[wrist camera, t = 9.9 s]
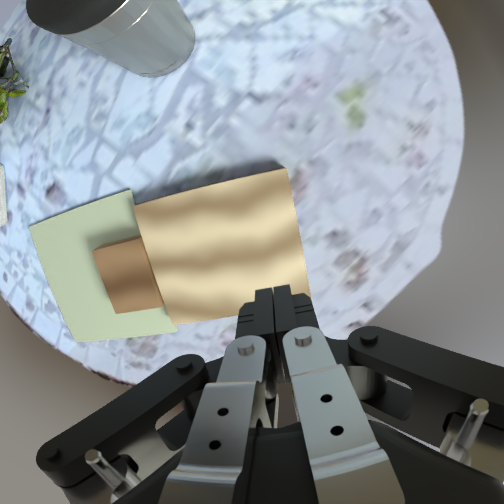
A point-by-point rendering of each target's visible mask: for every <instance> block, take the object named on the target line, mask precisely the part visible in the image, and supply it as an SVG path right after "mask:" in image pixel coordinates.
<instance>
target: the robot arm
mask: <svg viewBox="0 0 504 504" xmlns="http://www.w3.org/2000/svg"><path fill="white" fill-rule="evenodd" d="M26 9H27V13H28V16H29V18H30V19H31V20H32V22H33V23H35V24H36V25H37V26H39V27H41V28H43V29H45V30H48V31H50V32H52V33H55V34H57V35H60V36H62V37H64V38H66V39H68V40H71V41H73V42H75V43H77V44H79V45H82V46H84V47H86V48H88V49H90V50H92V51H94V52H96V53H98V54H100V55H102V56H104V57H106V58H108V59H109V60H111V61H113V62H115V63H117V64H119V65H121V66H123V67H124V68H126V69H128V70H130V71H132V72H134V73H136V74H138V75H140V76H143V77H159V76H163V75H166V74H168V73H171V72H173V71H174V70H176V69H177V68H179V67H180V66H181V65H182V64H183V63H184V62H185V61H186V60H187V58H188V57H189V56H190V54H191V52H192V50H193V48H194V44H195V32H194V28H193V27H192V25H191V23H190V21H189V20H188V18H187V16H186V15H185V13H184V11H183V9H182V8H181V6H180V5H179V3H178V1H177V0H26ZM273 292H274V294H273ZM283 369H284V372H283ZM284 374H285V379H286V382H290V384H291V389H292V395H293V400H294V405H295V409H296V414H297V419H298V422H297V423H294V424H292V425H289V426H286V427H283V428H277V416H278V400H279V399H278V394H277V392H278V383H284ZM387 377H391V378H393V379H395V380H398V381H400V382H402V383H405V384H407V385H408V386H409V387H410V388H411V389H412V390H410V389H408V388H406V387H403V386H401V385H399V384H396V383H394V382H392V381H389V380H387ZM178 403H181V405H182V407H183V409H184V410H183V411H182V412H181V413H179V414H178V415H177V416H175V417H174V418H173V419H171V420H170V421H169V422H167V423H166V424H165V425H164V426H162V427H161V428H160V429H158V430H157V431H156V429H155V424H156V421H157V420H158V419H159V418H160V417H161V416H163V415H164V414H165V413H167V412H168V411H169V410H171V409H172V408H173V407H175V406H176V405H177V404H178ZM364 412H365V413H367V414H369V415H371V416H373V417H375V418H377V419H379V420H381V421H383V422H385V423H387V424H389V425H391V426H393V427H395V428H397V429H399V430H401V431H403V432H405V433H407V434H409V435H412V436H413V437H416V438H418V439H420V440H422V441H424V442H427V443H429V444H431V445H433V446H436V447H438V448H440V452H437V451H435V450H433V449H431V448H429V447H427V446H425V445H423V444H421V443H419V442H418V441H415V440H413V439H412V438H410V437H407V436H406V435H404V434H402V433H400V432H398V431H397V430H395V429H393V428H391V427H389V426H387V425H385V424H382V423H379V422H376V421H372V420H367V418H366V415H365V413H364ZM36 462H37V465H38V466H39V468H40V469H41V470H42V471H43V472H44V473H45V474H46V475H47V476H48V477H49V478H51V479H52V480H53V482H54V483H55V484H56V485H57V486H58V487H59V488H60V489H61V490H62V491H63V492H64V493H65V495H66V497H67V498H68V500H69V502H70V504H504V485H503V484H502V483H503V481H504V367H501V366H498V365H494V364H491V363H487V362H485V361H481V360H478V359H475V358H471V357H468V356H465V355H462V354H459V353H456V352H453V351H450V350H446V349H443V348H440V347H437V346H434V345H431V344H428V343H425V342H422V341H419V340H416V339H413V338H410V337H407V336H404V335H401V334H398V333H395V332H392V331H389V330H386V329H383V328H380V327H376V326H366V327H361V328H358V329H356V330H354V331H353V332H352V333H351V334H350V335H349V337H348V340H336V339H331V338H328V337H326V336H324V334H323V332H322V331H321V330H320V329H319V325H318V322H317V318H316V315H315V312H314V308H313V305H312V301H311V298H310V297H309V296H308V295H306V294H305V293H300V294H294V295H292V294H291V288H290V284H287V285H281V286H275V287H273V289H272V287H270V288H264V289H258V290H255V301H254V302H247V303H244V305H243V306H242V307H241V308H240V309H239V315H238V323H237V329H236V336H235V340H233V341H232V342H231V343H230V344H229V345H228V346H227V348H226V351H225V354H224V356H223V357H221V358H219V359H216V360H213V361H210V362H207V363H205V361H204V359H203V358H202V357H201V356H199V355H196V354H187V355H182V356H179V357H177V358H175V359H173V360H172V361H171V362H169V363H168V364H166V365H165V366H163V367H162V368H160V369H159V370H157V371H156V372H155V373H153V374H152V375H150V376H149V377H147V378H146V379H144V380H143V381H141V382H140V383H138V384H137V385H135V386H134V387H132V388H131V389H129V390H128V391H126V392H125V393H123V394H122V395H120V396H119V397H117V398H116V399H114V400H113V401H111V402H110V403H108V404H107V405H105V406H103V407H102V408H100V409H99V410H98V411H96V412H94V413H93V414H91V415H89V416H88V417H86V418H85V419H83V420H82V421H80V422H78V423H77V424H75V425H74V426H72V427H70V428H69V429H67V430H66V431H64V432H62V433H61V434H59V435H57V436H56V437H54V438H53V439H51V440H50V441H48V442H46V443H45V444H44V445H42V447H40V449H39V450H38V452H37V456H36Z"/></svg>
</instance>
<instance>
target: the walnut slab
mask: <svg viewBox="0 0 504 504" xmlns="http://www.w3.org/2000/svg"><path fill="white" fill-rule="evenodd" d="M92 254H93V257H94V259H95V262H96V265H97V268H98V271H99V273H100V276H101V279H102V281H103V284H104V286H105V289H106V291H107V294H108V296H109V299H110V301H111V304H112V306H113V309H114V311H115V313H116V314H120V313H127V312H134V311H140V310H147V309H154V308H160V307H162V306H163V304H164V301H163V298H162V296H161V293H160V290H159V287H158V284H157V282H156V279H155V276H154V273H153V270H152V267H151V264H150V261H149V258H148V255H147V252H146V249H145V246H144V243H143V239H142V236H141V235H137V236H133V237H129V238H125V239H122V240H118V241H114V242H110V243H107V244H103V245H100V246H98V247H97V248H95V249H94V250H92Z"/></svg>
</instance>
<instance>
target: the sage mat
mask: <svg viewBox="0 0 504 504" xmlns="http://www.w3.org/2000/svg"><path fill="white" fill-rule="evenodd" d="M133 206H135V201H134V197H133V194H132V190H131V189H130V190H127V191H124V192H121V193H118V194H115V195H112V196H109V197H106V198H103V199H100V200H98V201H95V202H92V203H89V204H86V205H84V206H81V207H78V208H75V209H73V210H70V211H67V212H65V213H62V214H60V215H57V216H55V217H52V218H49V219H47V220H45V221H42V222H40V223H37V224H35V225H32V226H30V227H29V229H30V232H31V235H32V238H33V241H34V244H35V247H36V250H37V253H38V256H39V259H40V262H41V264H42V267H43V270H44V272H45V275H46V278H47V280H48V283H49V285H50V288H51V290H52V292H53V295H54V297H55V299H56V302H57V304H58V306H59V308H60V311H61V313H62V315H63V317H64V319H65V321H66V324H67V326H68V328H69V330H70V332H71V334H72V336H73V338H74V340H75V342H88V341H100V340H111V339H121V338H130V337H139V336H148V335H156V334H164V333H172V332H177V331H178V329H177V327H176V325H172V322H171V320H170V317H169V314H168V312H167V309H166V306H165V304H163V306H162V307H160V308H154V309H147V310H140V311H134V312H127V313H120V314H116V313H115V311H114V309H113V306H112V304H111V301H110V299H109V296H108V294H107V291H106V289H105V286H104V284H103V281H102V279H101V276H100V273H99V271H98V268H97V265H96V262H95V259H94V257H93V254H92V250H94V249H95V248H97V247H98V246H100V245H103V244H107V243H110V242H114V241H118V240H122V239H125V238H129V237H133V236H137V235H141V233H140V230H139V226H138V223H137V220H136V216H135V213H134V209H133Z"/></svg>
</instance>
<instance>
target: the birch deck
mask: <svg viewBox="0 0 504 504" xmlns="http://www.w3.org/2000/svg"><path fill="white" fill-rule="evenodd" d="M133 209H134V213H135V216H136V220H137V223H138V226H139V230H140V233H141V236H142V239H143V243H144V246H145V249H146V252H147V255H148V258H149V261H150V264H151V267H152V270H153V273H154V276H155V279H156V282H157V284H158V287H159V290H160V293H161V296H162V298H163V301H164V304H165V306H166V309H167V312H168V314H169V317H170V320H171V322H172V325H179V324H185V323H192V322H199V321H205V320H212V319H218V318H224V317H230V316H236V315H239V309H240V308H241V307H242V306H243V305H244V303H247V302H254V301H255V290H258V289H264V288H270V287H272V289H273V287H275V286H281V285H287V284H290V288H291V294H292V295H294V294H300V293H305V294H306V295H308V296H309V297H310V298H311V295H310V289H309V283H308V277H307V271H306V266H305V260H304V254H303V249H302V243H301V238H300V233H299V227H298V222H297V217H296V212H295V207H294V202H293V197H292V192H291V187H290V182H289V178H288V173H287V168H281V169H276V170H271V171H266V172H261V173H257V174H252V175H248V176H243V177H239V178H235V179H230V180H226V181H222V182H218V183H214V184H210V185H206V186H202V187H198V188H194V189H190V190H186V191H182V192H179V193H175V194H171V195H167V196H164V197H160V198H157V199H153V200H150V201H146V202H143V203H139V204H137V205H135V206H133ZM273 294H274V292H273Z"/></svg>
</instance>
